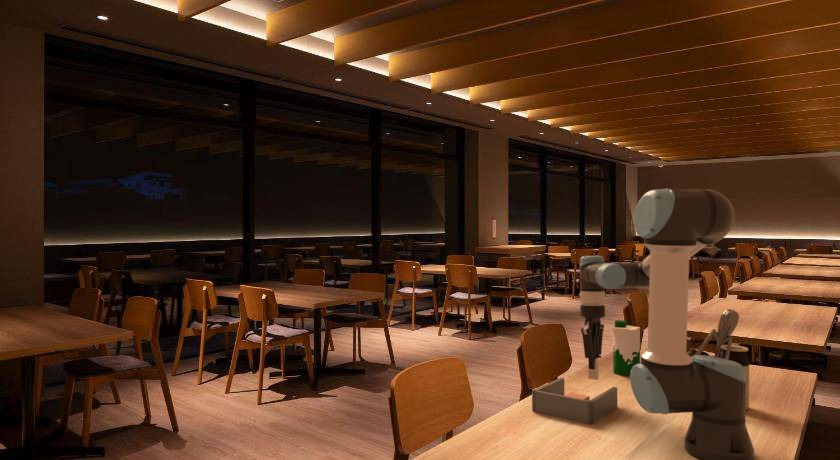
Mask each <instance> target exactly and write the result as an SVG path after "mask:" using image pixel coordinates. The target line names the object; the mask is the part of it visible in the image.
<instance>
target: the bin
mask: <svg viewBox="0 0 840 460" xmlns="http://www.w3.org/2000/svg"><path fill="white" fill-rule="evenodd" d="M564 395H565V378H564V377H560V378H557V379H555V380H553V381H550V382H548V383H546V384H544V385H542V386H539V387H537V388H534V389H533V390H532V391H531V400H532V401H531V407H532V412H535V413H541V414H545V415H549V416H553V417H558V418H562V419H567V420H571V421H576V422H581V423H586V424H589V425H593V424H594V423H597V422H598V421H599V420H601V419H602V418H604V417H605V416H607V415H608V414H610V413H611V412H613V411H615V410H616V409H617V408H618V387H616V386H612V387H611V388H609V389H607V390H605V391H603V392H602V393H600V394H599V395H597V396H595V397H593V398H592V399H591V398H590V401H588V400H583V399H578V398H573V397H568V396H564Z"/></svg>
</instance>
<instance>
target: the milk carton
mask: <svg viewBox="0 0 840 460" xmlns="http://www.w3.org/2000/svg"><path fill="white" fill-rule="evenodd" d="M611 329H612V348H613V349H612V350H613V351H612V363H613V365H612V366H613V374H614V375H620V376H626V377H630V373H631V369H632V367H633V366H634V365H636V364H641V327H640V326H633V325H627V321H626V320H619V319H618V320H614V326H613V327H612V328H611Z"/></svg>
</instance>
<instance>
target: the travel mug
mask: <svg viewBox="0 0 840 460" xmlns="http://www.w3.org/2000/svg"><path fill="white" fill-rule="evenodd" d="M720 348H721V350H722V352H721V355H720V356H719V358H723V359H725V356H726V351H727V344H724V345H722V346H721V347H720ZM720 348H719V349H720ZM748 351H749V348H748V347H746V346H740V345H735V344H731V350H730V355H729V360H731V361H734V362H737V363H739V364H741V365H742V366H743V368H744V370H745V380H746V383H745V411H747V410H748V409H749V408H750V358H749V357H748Z"/></svg>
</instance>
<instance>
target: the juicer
mask: <svg viewBox="0 0 840 460" xmlns="http://www.w3.org/2000/svg"><path fill="white" fill-rule="evenodd" d="M739 321H740V315H739V312H737V311H736V310H734V309H729V308H728V309H725V310H724V311H723V312H722V313H721V315H720V318H719V320H718V324H717V330H716V329H715V328H713V329H712V330H711V331H710V333H709V334H708V335H707V337H705V339H704V340H703V342H702V343H701V345H700V346H699V348H698V349H697V350H696V353H695V354H694V355H701V353H702V352H703V350H704V349H705V347H706V346H707V344H708V343H709V342H710V341H711V340H712V339H713V337H715V338H716V350H717V351H718V353H717V355H716V357H718V358H719V356H720V355H721V353H722V350H721V348H720V347H721V346H722V345H725V343H726V342H727V344H726V345H727V351H726V356H725V359H727V360H729V355H730V350H731V345H733V344H732V343H733V335H732V334H733V333H734V332H735V330H736V329H737V326H738V324H739Z"/></svg>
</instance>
